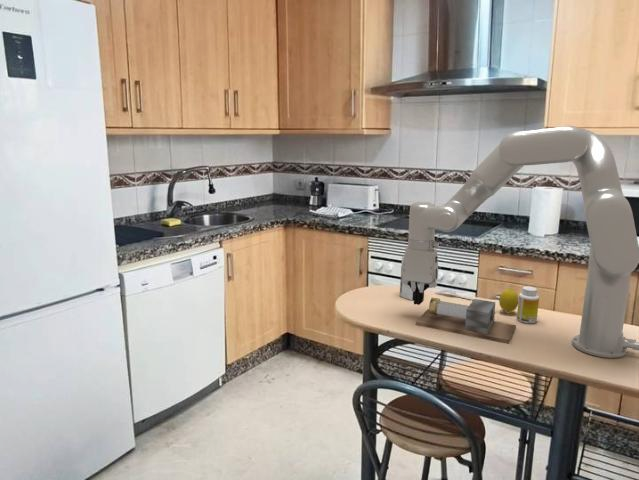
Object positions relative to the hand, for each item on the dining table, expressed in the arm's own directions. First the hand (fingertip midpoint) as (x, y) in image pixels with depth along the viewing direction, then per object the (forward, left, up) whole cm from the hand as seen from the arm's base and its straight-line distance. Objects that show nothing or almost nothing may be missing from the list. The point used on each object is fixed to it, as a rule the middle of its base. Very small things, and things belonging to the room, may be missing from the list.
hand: (417, 303), depth 150 cm
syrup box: (+8, -17, -5) cm, 19 cm away
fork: (-8, -25, -5) cm, 27 cm away
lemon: (-23, -18, -5) cm, 30 cm away
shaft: (-10, 0, -2) cm, 11 cm away
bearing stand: (-14, 0, -4) cm, 15 cm away
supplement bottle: (-29, -14, -5) cm, 33 cm away
